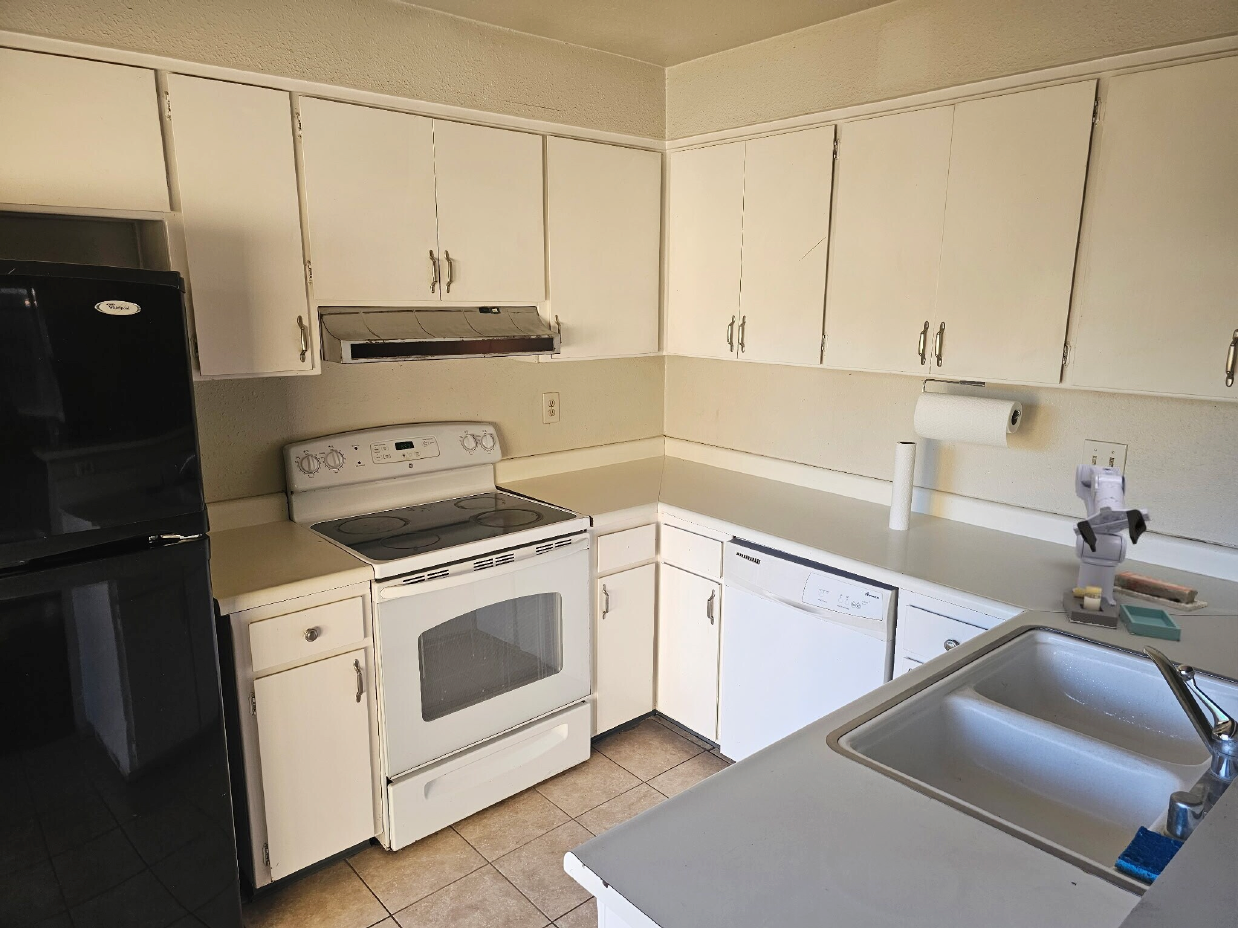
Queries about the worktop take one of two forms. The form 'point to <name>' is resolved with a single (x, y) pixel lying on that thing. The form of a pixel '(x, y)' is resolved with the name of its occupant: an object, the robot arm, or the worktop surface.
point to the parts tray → (1149, 622)
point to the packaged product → (1157, 591)
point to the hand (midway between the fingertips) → (1112, 544)
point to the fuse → (1092, 598)
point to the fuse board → (1077, 613)
